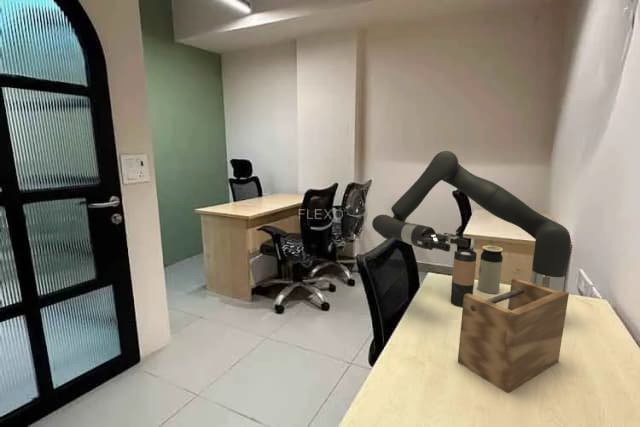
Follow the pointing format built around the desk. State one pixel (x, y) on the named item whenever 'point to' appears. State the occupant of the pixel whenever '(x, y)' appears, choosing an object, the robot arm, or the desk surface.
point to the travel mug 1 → (463, 275)
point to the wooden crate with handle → (512, 333)
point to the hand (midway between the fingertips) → (458, 246)
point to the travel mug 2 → (490, 269)
